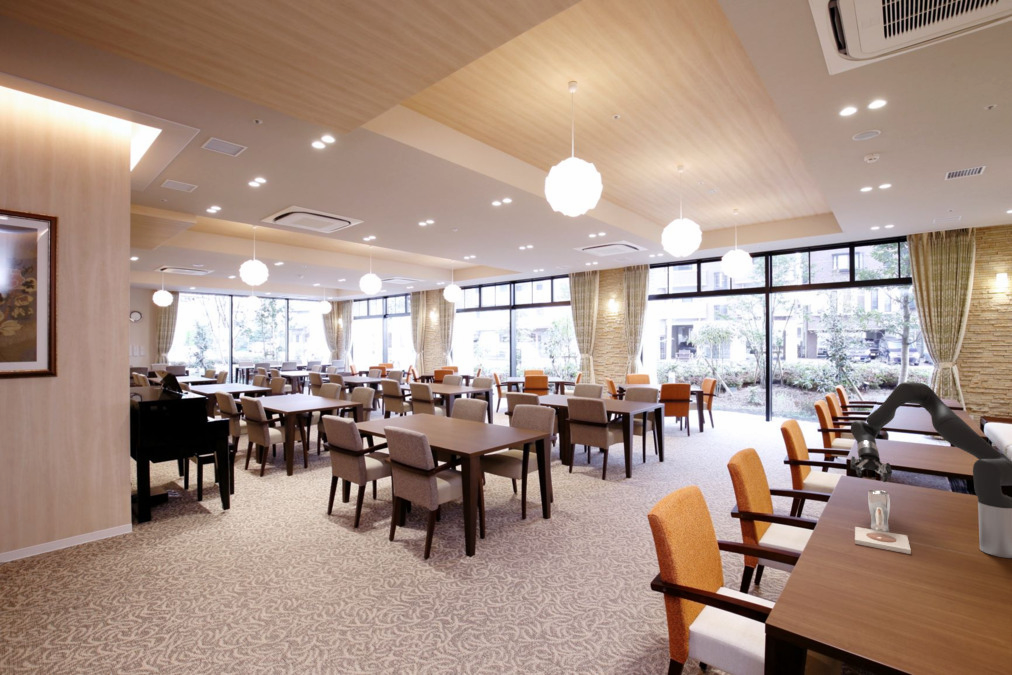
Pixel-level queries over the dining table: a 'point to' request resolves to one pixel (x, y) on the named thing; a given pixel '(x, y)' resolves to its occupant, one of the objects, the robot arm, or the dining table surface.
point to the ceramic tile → (882, 540)
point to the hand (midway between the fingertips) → (872, 478)
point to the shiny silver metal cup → (879, 509)
